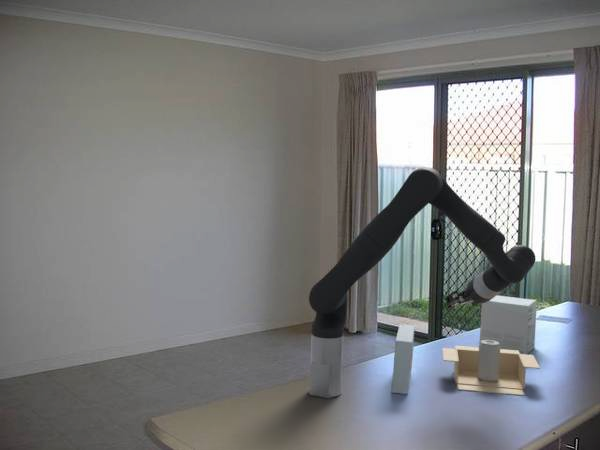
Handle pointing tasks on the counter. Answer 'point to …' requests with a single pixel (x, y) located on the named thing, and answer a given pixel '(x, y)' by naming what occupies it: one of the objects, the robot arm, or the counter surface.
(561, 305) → the counter surface
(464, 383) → the carton
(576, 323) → the counter surface
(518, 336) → the supplement box
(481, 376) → the beverage can
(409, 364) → the skincare box
